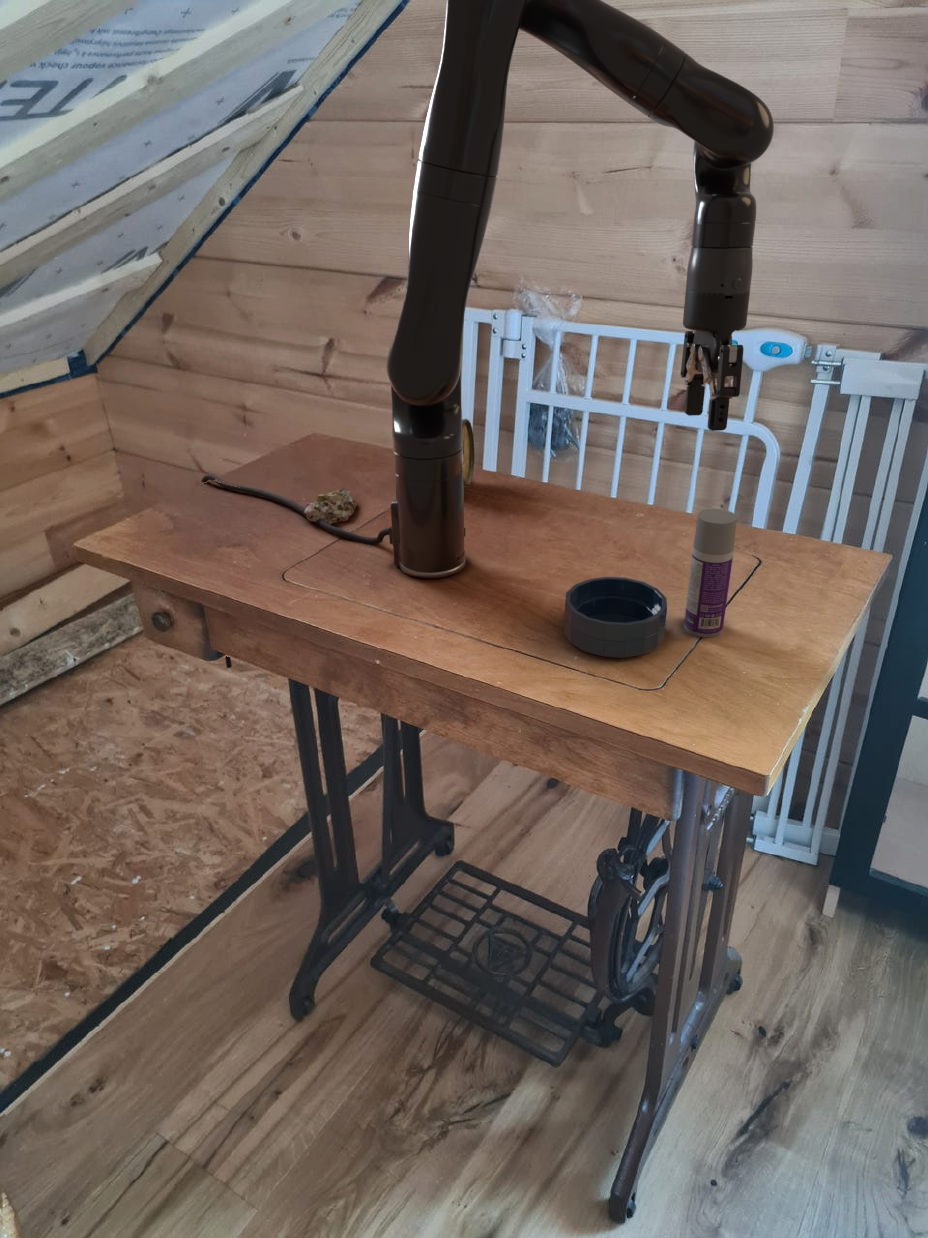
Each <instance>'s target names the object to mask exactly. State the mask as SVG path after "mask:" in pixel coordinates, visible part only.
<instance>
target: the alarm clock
mask: <svg viewBox="0 0 928 1238" xmlns="http://www.w3.org/2000/svg"><path fill="white" fill-rule="evenodd" d="M474 437H475V436H474V431H473V427H472V423H471V420H469V419H468V418H462V448H463V487H468V486H470V485H471V483H472V480H473V475H474V468H475V467H474V466H475V438H474Z"/></svg>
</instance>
